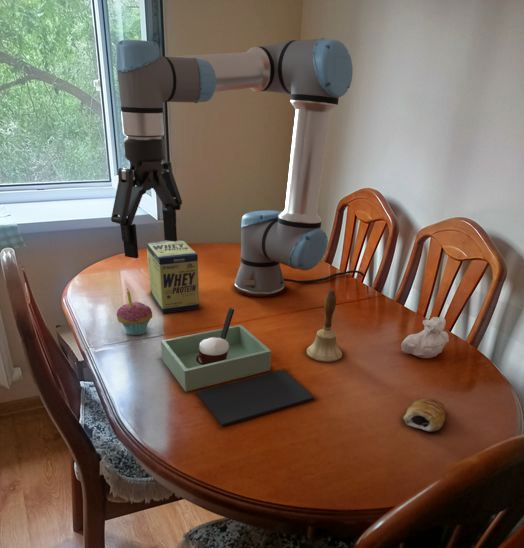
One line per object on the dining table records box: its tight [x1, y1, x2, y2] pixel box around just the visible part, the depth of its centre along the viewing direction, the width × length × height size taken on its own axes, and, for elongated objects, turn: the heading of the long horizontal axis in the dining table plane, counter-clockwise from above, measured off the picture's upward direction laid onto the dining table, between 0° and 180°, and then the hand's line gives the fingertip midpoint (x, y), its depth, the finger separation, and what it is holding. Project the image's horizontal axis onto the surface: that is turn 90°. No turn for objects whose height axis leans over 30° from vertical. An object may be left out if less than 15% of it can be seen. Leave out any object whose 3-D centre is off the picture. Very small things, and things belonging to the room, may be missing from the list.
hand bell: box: [306, 288, 343, 363], centre depth 111 cm, size 8×8×16 cm
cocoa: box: [196, 306, 235, 365], centre depth 106 cm, size 10×6×12 cm, turn 111°
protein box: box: [145, 239, 200, 315], centre depth 136 cm, size 10×16×16 cm
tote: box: [160, 324, 272, 393], centre depth 108 cm, size 20×15×5 cm
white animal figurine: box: [400, 316, 450, 359], centre depth 113 cm, size 12×8×11 cm
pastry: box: [403, 397, 447, 433], centre depth 93 cm, size 9×7×4 cm
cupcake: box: [116, 288, 153, 336], centre depth 120 cm, size 9×8×12 cm
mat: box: [196, 369, 315, 427], centre depth 98 cm, size 20×12×1 cm, turn 119°
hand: (152, 248), depth 102 cm, fingers open, 13 cm apart
